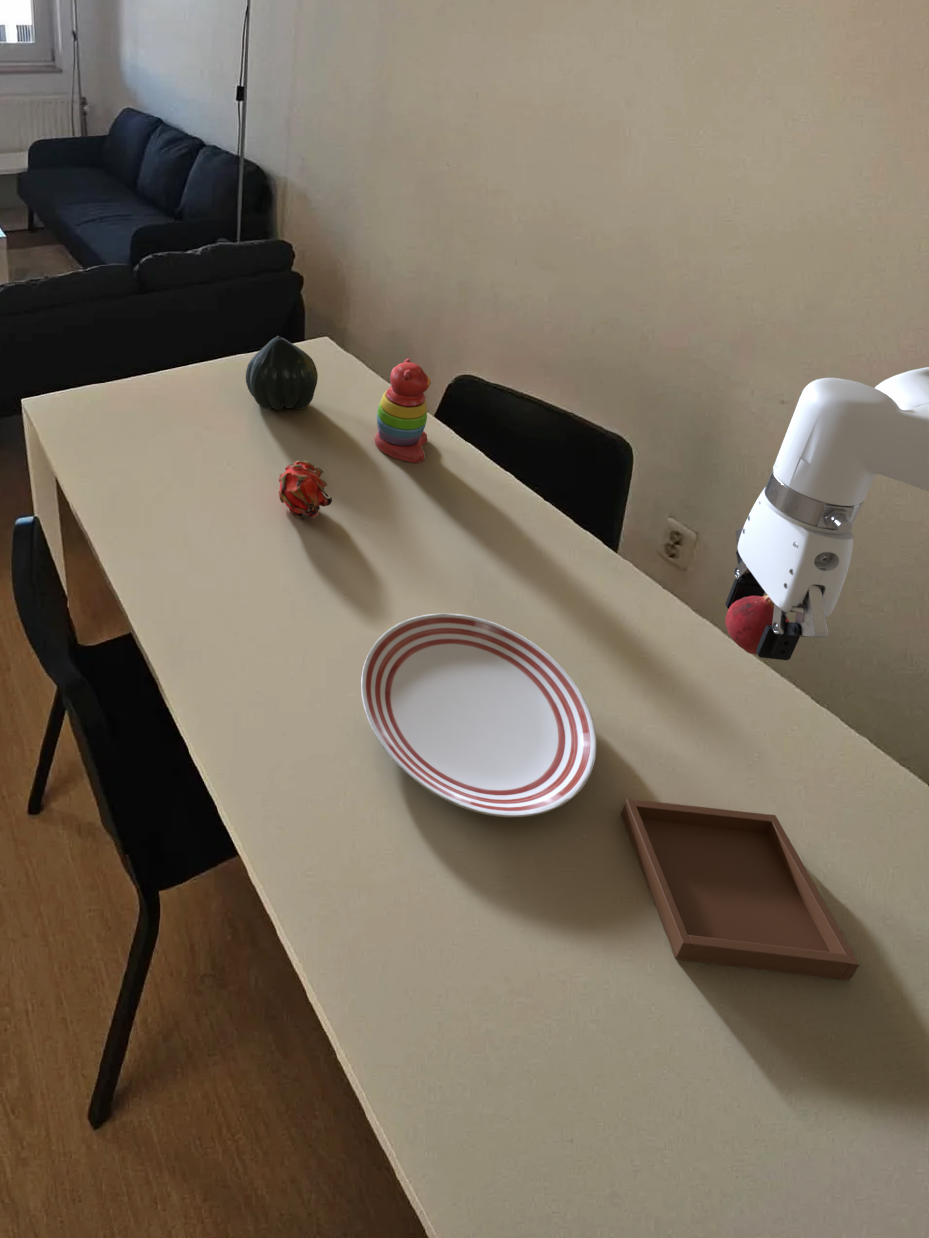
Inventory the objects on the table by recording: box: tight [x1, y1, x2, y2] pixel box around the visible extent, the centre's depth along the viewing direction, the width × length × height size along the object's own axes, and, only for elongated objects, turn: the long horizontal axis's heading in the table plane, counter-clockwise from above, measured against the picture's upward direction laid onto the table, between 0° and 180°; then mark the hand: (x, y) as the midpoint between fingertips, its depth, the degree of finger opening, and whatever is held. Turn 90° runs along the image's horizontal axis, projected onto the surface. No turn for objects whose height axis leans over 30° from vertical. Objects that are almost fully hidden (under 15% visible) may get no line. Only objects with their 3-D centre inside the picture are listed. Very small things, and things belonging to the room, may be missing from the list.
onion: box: [724, 594, 790, 655], centre depth 83 cm, size 6×6×8 cm
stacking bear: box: [374, 358, 432, 464], centre depth 145 cm, size 11×10×18 cm
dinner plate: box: [360, 613, 598, 818], centre depth 93 cm, size 27×27×3 cm
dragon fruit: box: [278, 459, 333, 521], centre depth 128 cm, size 8×8×12 cm
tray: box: [620, 798, 861, 981], centre depth 76 cm, size 16×14×3 cm
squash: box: [245, 335, 319, 410], centre depth 160 cm, size 14×15×15 cm
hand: (756, 630), depth 83 cm, fingers closed on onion, 5 cm apart
